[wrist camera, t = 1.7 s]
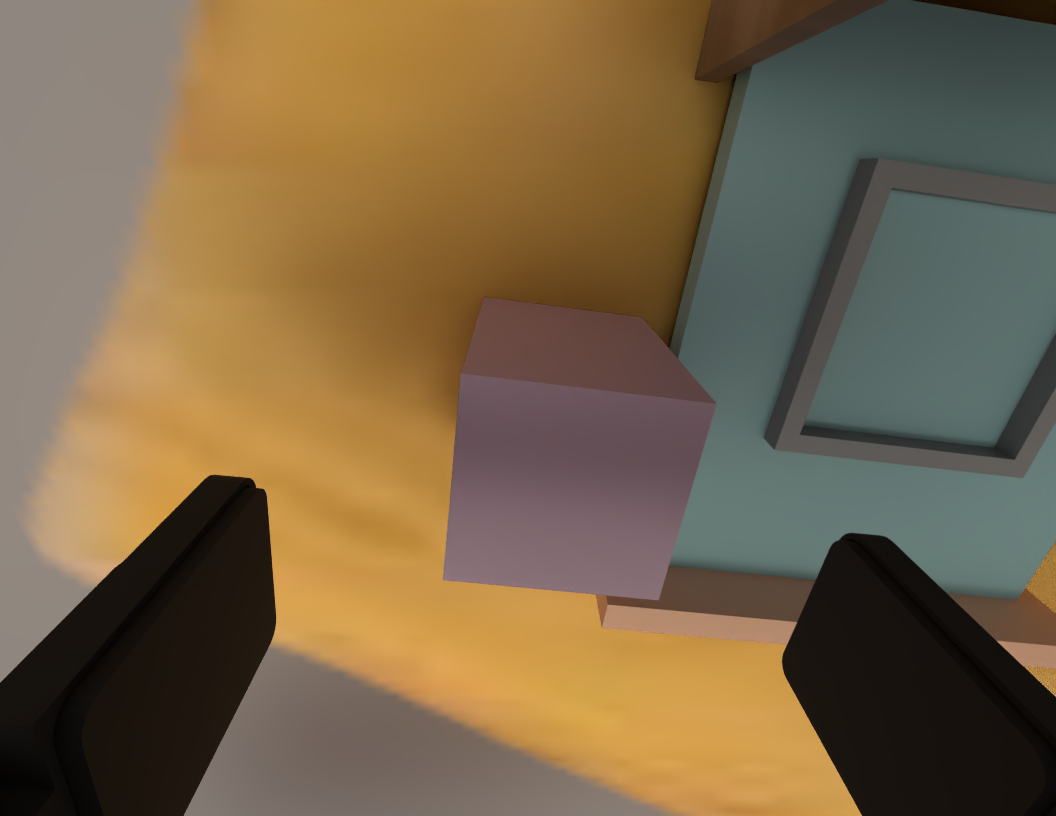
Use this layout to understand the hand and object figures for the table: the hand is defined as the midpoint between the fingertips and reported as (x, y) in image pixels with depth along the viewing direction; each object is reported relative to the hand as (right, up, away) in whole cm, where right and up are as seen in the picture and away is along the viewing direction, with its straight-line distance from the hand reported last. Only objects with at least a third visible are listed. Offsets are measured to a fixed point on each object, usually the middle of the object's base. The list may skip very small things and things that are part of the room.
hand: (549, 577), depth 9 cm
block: (0, +4, +9) cm, 10 cm away
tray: (+12, +4, +8) cm, 15 cm away
